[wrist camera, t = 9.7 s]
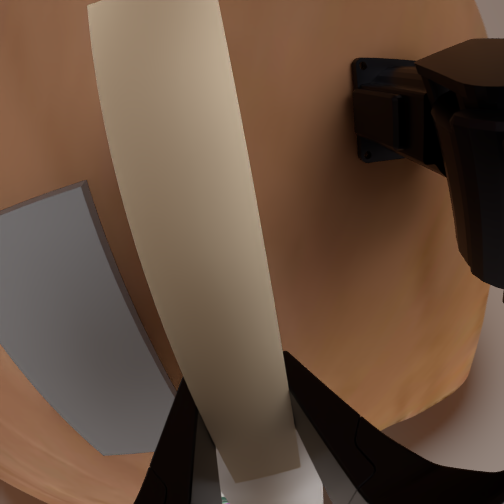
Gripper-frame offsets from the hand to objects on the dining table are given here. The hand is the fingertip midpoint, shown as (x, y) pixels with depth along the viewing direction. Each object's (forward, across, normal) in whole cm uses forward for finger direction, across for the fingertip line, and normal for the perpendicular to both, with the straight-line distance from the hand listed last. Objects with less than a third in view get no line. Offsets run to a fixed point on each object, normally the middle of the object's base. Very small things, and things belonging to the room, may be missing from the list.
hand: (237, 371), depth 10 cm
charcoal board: (+11, +12, +10) cm, 19 cm away
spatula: (+1, 0, +2) cm, 2 cm away
